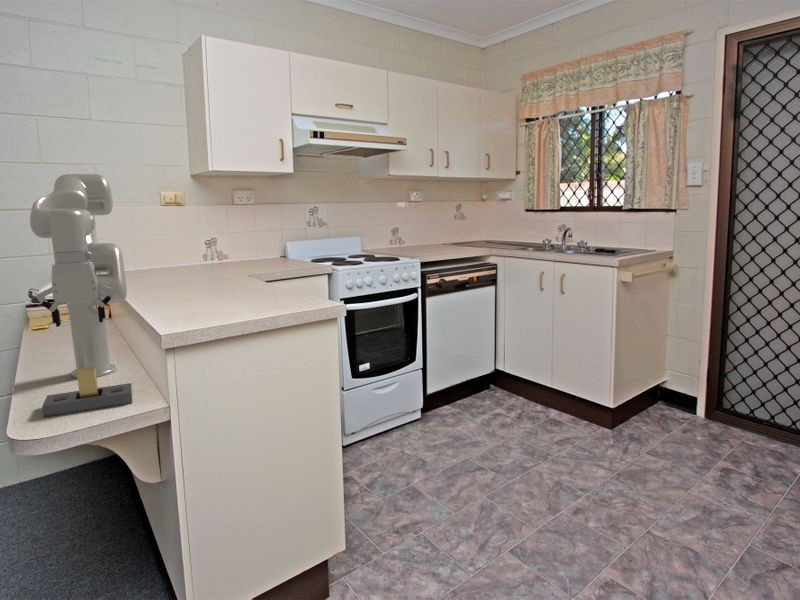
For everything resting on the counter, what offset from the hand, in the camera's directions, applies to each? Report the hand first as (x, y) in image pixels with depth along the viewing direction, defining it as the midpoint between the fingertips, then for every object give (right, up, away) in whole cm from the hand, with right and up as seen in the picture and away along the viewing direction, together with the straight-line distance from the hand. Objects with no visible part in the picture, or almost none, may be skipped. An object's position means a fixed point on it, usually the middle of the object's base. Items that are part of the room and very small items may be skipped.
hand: (80, 323), depth 137 cm
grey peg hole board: (+1, -22, +4) cm, 22 cm away
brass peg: (0, -22, +4) cm, 22 cm away
